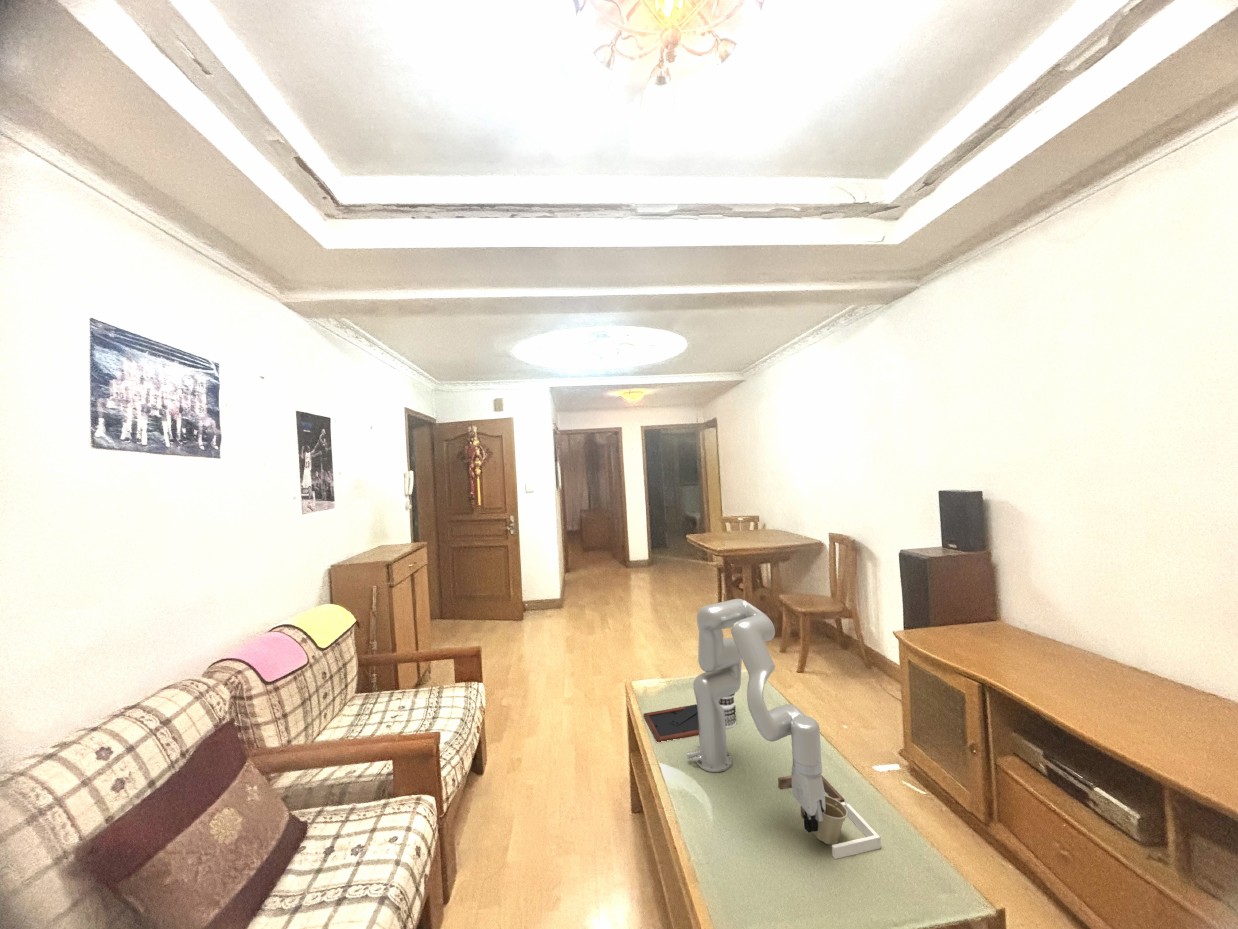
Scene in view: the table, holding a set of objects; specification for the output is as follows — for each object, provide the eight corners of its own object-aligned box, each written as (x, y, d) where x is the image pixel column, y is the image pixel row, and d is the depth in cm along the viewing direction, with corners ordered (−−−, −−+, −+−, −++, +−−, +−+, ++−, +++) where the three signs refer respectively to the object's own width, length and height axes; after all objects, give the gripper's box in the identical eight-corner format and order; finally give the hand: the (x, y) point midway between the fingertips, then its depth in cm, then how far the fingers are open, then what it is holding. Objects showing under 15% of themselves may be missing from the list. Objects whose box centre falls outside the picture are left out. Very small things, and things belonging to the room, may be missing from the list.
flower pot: (829, 854, 128) (833, 822, 129) (800, 829, 137) (804, 799, 137) (851, 844, 133) (855, 813, 133) (822, 821, 141) (825, 791, 141)
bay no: (802, 818, 143) (802, 808, 143) (778, 787, 157) (778, 778, 157) (844, 809, 145) (844, 799, 145) (817, 779, 159) (816, 770, 159)
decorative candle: (709, 720, 198) (706, 659, 198) (728, 714, 202) (724, 654, 201) (722, 731, 190) (719, 668, 189) (741, 724, 193) (738, 663, 193)
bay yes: (834, 859, 128) (834, 848, 128) (804, 820, 142) (804, 810, 142) (880, 848, 131) (880, 837, 131) (847, 811, 144) (846, 801, 144)
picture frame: (699, 707, 209) (643, 717, 204) (698, 703, 209) (643, 712, 204) (718, 733, 190) (657, 744, 184) (717, 728, 190) (657, 739, 184)
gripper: (781, 751, 141) (784, 813, 141) (810, 784, 126) (814, 853, 126) (804, 746, 142) (808, 808, 142) (836, 779, 127) (840, 848, 127)
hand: (811, 829), depth 134 cm, fingers closed
